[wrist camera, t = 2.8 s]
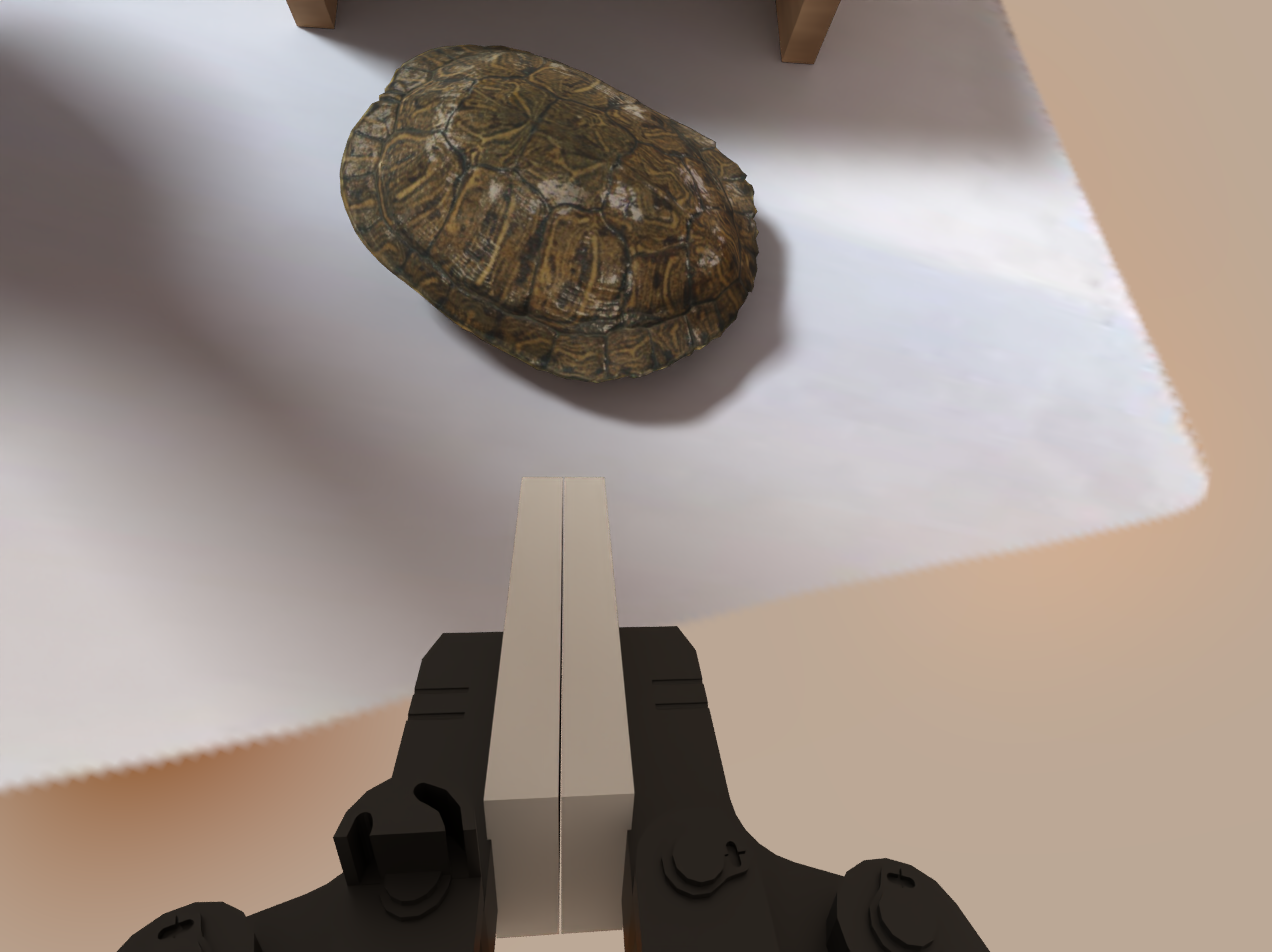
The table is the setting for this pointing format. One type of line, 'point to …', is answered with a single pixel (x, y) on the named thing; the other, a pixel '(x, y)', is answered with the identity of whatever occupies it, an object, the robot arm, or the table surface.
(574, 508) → the robot arm
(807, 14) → the walnut shelf
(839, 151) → the table surface
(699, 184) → the turtle shell
